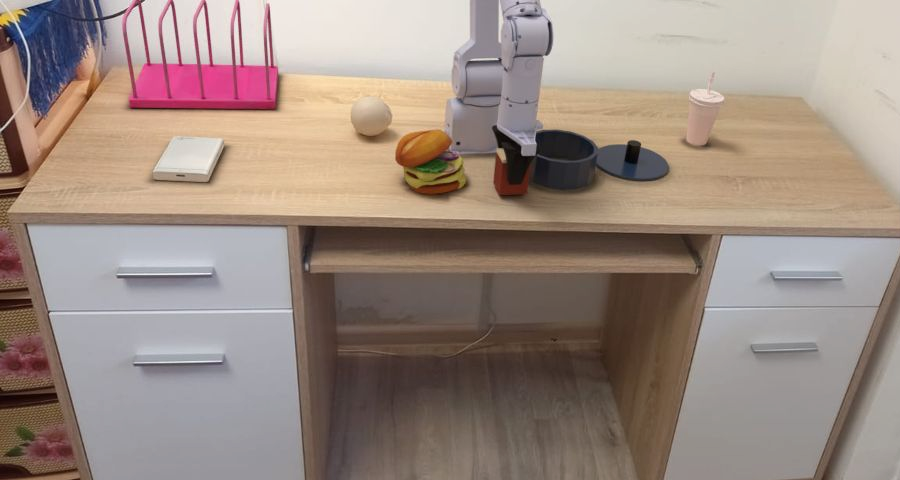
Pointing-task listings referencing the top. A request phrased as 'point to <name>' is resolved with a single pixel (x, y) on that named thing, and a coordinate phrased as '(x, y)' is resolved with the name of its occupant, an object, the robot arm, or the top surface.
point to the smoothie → (702, 113)
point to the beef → (502, 179)
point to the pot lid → (631, 162)
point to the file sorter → (202, 72)
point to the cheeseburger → (430, 162)
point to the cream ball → (370, 116)
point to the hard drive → (189, 159)
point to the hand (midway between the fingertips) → (511, 176)
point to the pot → (559, 171)
